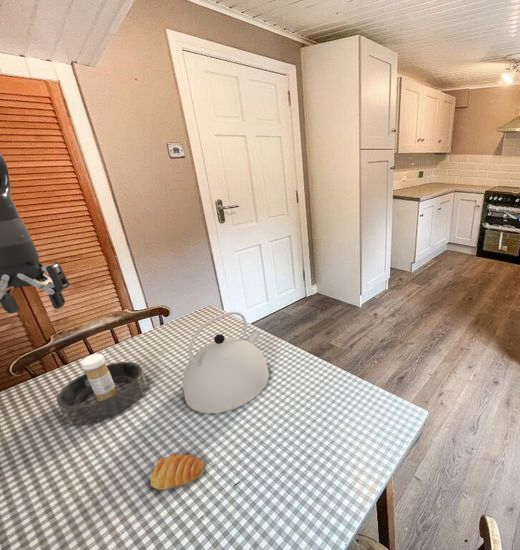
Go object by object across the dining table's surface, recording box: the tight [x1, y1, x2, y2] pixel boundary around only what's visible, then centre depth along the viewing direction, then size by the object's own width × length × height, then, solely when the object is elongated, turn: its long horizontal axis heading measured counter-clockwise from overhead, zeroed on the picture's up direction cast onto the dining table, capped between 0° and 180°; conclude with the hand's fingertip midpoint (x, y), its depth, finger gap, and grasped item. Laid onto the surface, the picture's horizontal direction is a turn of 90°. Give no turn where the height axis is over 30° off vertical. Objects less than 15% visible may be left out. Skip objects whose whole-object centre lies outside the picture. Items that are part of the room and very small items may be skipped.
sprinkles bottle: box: [80, 353, 119, 402], centre depth 81 cm, size 5×5×14 cm
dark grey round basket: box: [56, 361, 148, 426], centre depth 82 cm, size 18×18×6 cm
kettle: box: [182, 311, 270, 414], centre depth 86 cm, size 25×23×22 cm
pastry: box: [150, 453, 205, 491], centre depth 63 cm, size 9×7×4 cm
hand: (37, 309), depth 69 cm, fingers open, 8 cm apart
